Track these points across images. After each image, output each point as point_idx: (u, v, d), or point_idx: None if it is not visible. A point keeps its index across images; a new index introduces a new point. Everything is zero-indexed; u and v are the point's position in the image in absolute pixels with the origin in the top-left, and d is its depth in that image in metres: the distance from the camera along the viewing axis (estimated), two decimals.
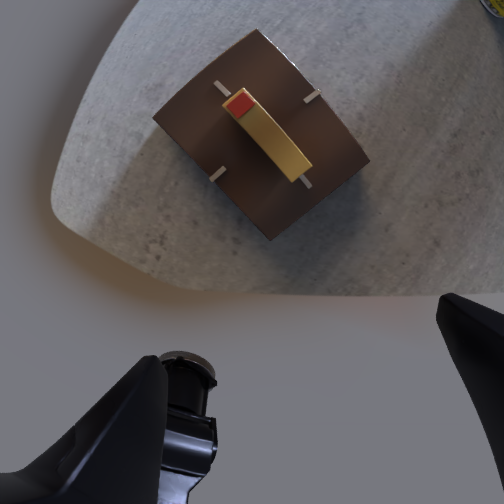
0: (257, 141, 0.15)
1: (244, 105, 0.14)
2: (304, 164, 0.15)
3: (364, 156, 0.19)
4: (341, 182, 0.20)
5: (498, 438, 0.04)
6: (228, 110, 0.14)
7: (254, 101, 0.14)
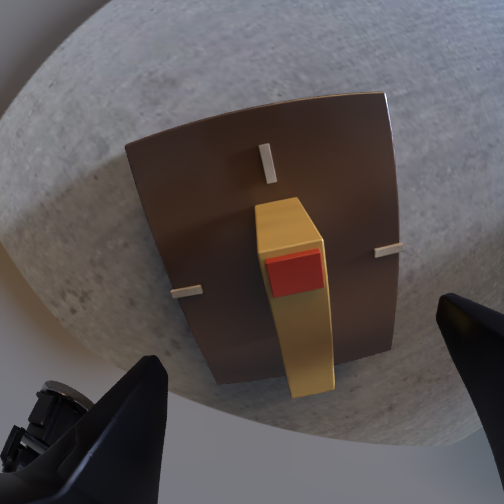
0: (281, 340, 0.08)
1: (302, 281, 0.07)
2: (325, 386, 0.09)
3: (390, 343, 0.14)
4: (343, 361, 0.14)
5: (498, 438, 0.04)
6: (264, 270, 0.07)
7: (324, 279, 0.07)
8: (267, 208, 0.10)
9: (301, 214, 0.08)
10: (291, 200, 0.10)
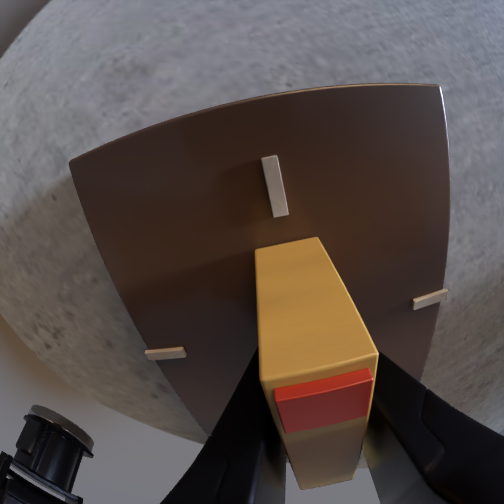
0: (292, 457, 0.05)
1: (335, 414, 0.03)
2: (343, 478, 0.06)
3: None
4: None
5: (386, 494, 0.04)
6: (272, 400, 0.04)
7: None
8: (274, 258, 0.06)
9: (331, 279, 0.05)
10: (310, 244, 0.06)
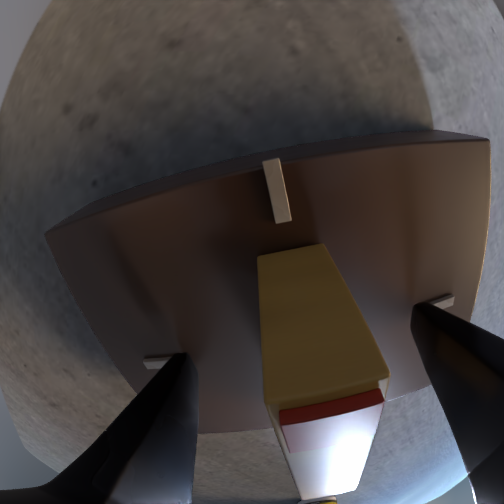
0: (294, 472, 0.04)
1: (342, 435, 0.03)
2: (346, 489, 0.05)
3: None
4: None
5: (472, 455, 0.04)
6: (276, 422, 0.03)
7: None
8: (278, 266, 0.06)
9: (339, 291, 0.05)
10: (316, 252, 0.06)
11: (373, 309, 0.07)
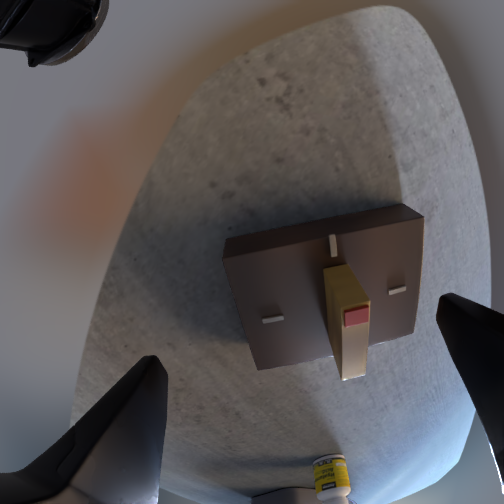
0: (343, 347, 0.14)
1: (359, 319, 0.13)
2: (360, 372, 0.15)
3: (264, 368, 0.20)
4: (251, 345, 0.19)
5: (498, 438, 0.04)
6: (342, 315, 0.13)
7: (368, 317, 0.13)
8: (333, 273, 0.16)
9: (355, 281, 0.15)
10: (345, 267, 0.16)
11: (367, 291, 0.18)
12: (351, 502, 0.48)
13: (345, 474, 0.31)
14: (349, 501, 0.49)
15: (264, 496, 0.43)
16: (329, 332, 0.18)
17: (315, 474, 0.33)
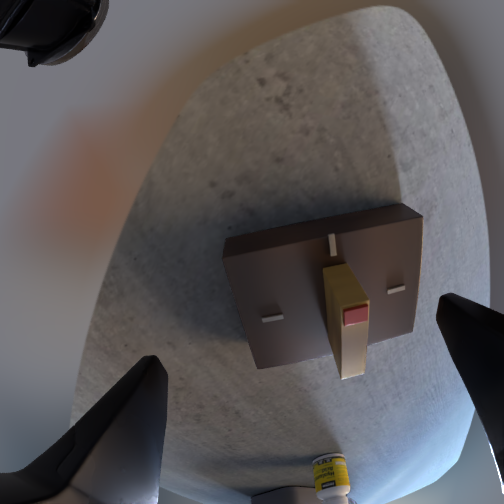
0: (342, 346, 0.14)
1: (358, 318, 0.13)
2: (360, 371, 0.15)
3: (264, 367, 0.21)
4: (250, 344, 0.20)
5: (498, 438, 0.04)
6: (342, 314, 0.13)
7: (367, 316, 0.13)
8: (332, 272, 0.16)
9: (354, 280, 0.15)
10: (344, 266, 0.16)
11: (366, 290, 0.18)
12: (351, 501, 0.48)
13: (345, 473, 0.31)
14: (349, 500, 0.49)
15: (264, 495, 0.44)
16: (328, 331, 0.18)
17: (315, 473, 0.33)
